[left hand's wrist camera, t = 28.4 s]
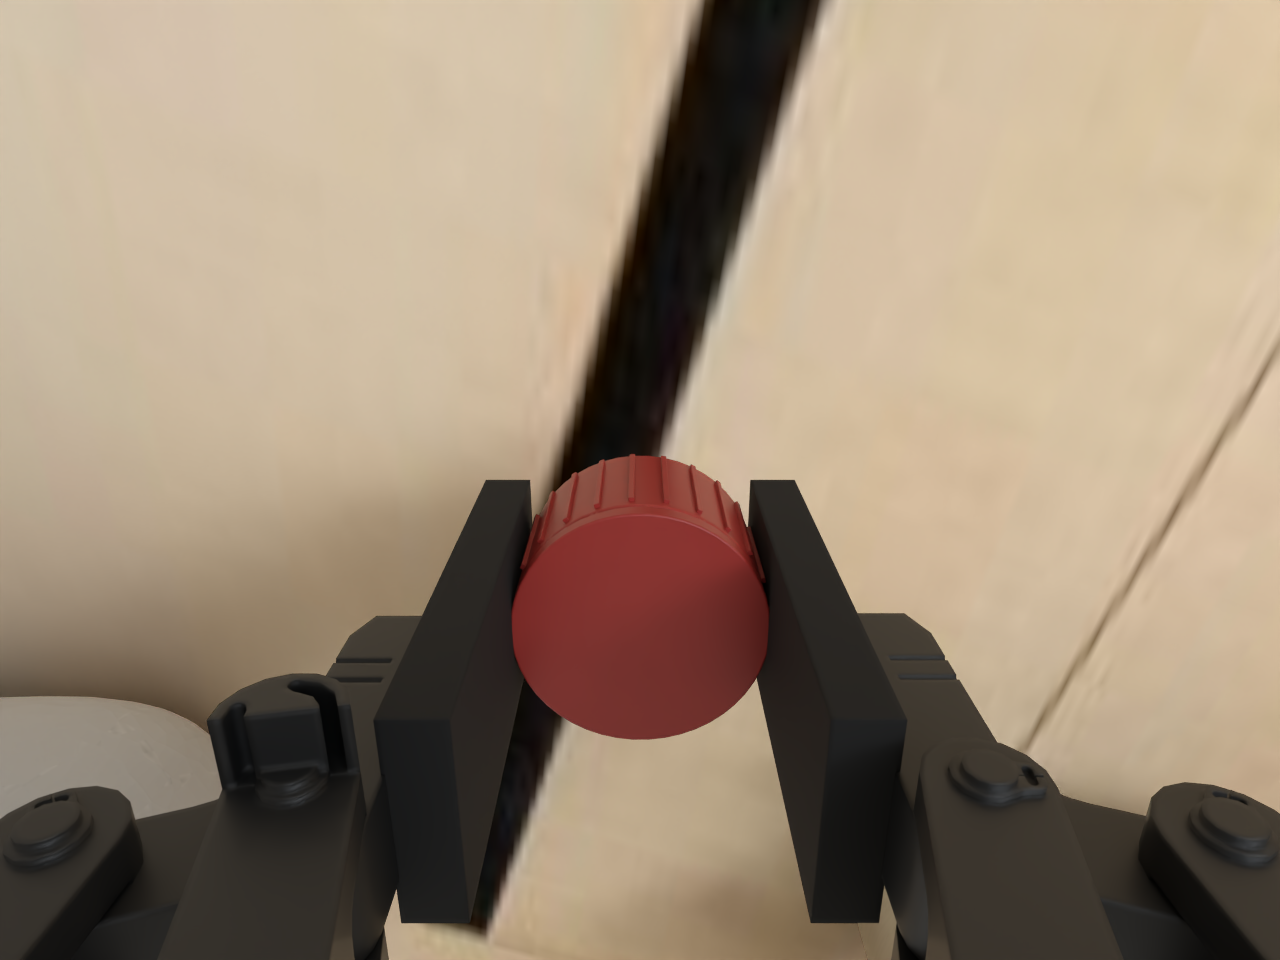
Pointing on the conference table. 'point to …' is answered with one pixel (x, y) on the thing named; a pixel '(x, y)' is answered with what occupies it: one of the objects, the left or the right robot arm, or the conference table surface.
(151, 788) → the projector
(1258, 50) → the conference table surface
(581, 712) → the cap
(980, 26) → the conference table surface
